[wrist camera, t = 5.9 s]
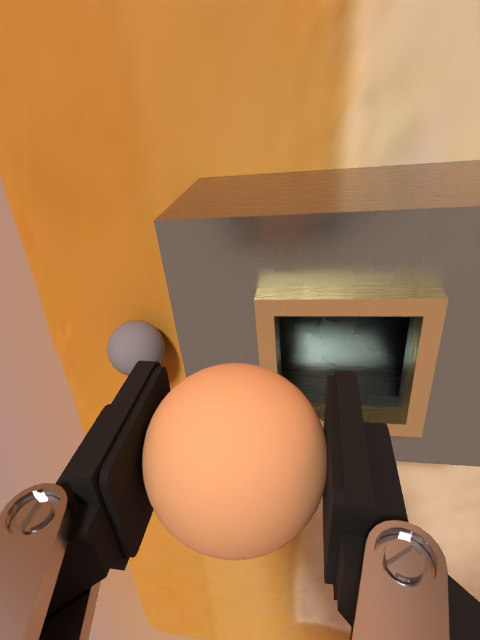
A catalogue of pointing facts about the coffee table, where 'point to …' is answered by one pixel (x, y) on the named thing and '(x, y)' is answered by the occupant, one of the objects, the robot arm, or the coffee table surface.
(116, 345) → the bead
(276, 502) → the bead
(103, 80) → the coffee table surface
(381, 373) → the grey box with opening
